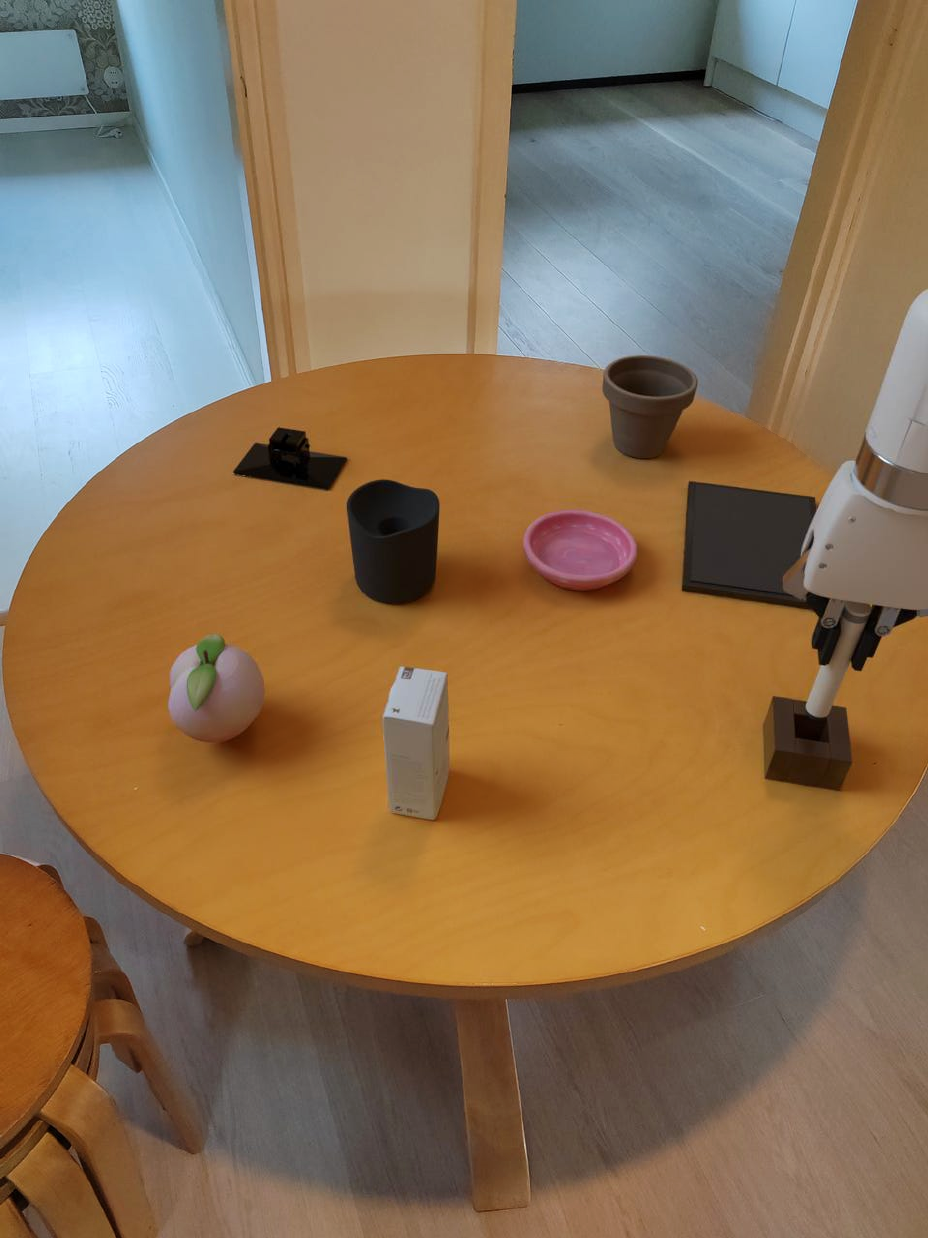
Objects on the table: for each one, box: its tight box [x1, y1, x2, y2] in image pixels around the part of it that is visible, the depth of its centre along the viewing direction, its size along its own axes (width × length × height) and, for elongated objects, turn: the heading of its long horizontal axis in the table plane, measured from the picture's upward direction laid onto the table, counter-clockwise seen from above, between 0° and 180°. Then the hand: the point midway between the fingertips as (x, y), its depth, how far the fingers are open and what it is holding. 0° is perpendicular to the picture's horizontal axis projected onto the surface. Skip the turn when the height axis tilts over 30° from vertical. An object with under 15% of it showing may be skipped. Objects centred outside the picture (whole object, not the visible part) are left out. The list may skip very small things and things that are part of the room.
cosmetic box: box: [382, 666, 451, 821], centre depth 82 cm, size 6×4×12 cm
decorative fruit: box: [167, 633, 266, 744], centre depth 87 cm, size 9×8×10 cm
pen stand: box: [762, 695, 853, 792], centre depth 88 cm, size 6×6×4 cm
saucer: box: [522, 509, 638, 591], centre depth 108 cm, size 12×12×3 cm
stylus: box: [805, 601, 872, 721], centre depth 81 cm, size 2×2×13 cm
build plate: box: [232, 426, 348, 491], centre depth 121 cm, size 12×7×5 cm, turn 76°
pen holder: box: [346, 478, 441, 605], centre depth 103 cm, size 9×9×10 cm
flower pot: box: [601, 354, 699, 459], centre depth 124 cm, size 12×11×10 cm
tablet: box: [681, 480, 817, 610], centre depth 112 cm, size 15×20×1 cm
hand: (838, 655), depth 81 cm, fingers closed on stylus, 2 cm apart
